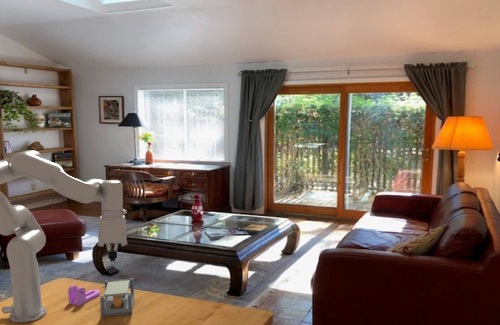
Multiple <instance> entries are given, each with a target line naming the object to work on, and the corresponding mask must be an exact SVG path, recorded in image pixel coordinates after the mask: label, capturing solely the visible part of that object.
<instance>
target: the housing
mask: <svg viewBox="0 0 500 325" xmlns="http://www.w3.org/2000/svg"><path fill="white" fill-rule="evenodd" d="M129 279H130V282H129V287H130V292H131V294H129V295H121V302H122V308H118V309H114V305H113V296H107V297H100V296H99V297H100V298H99V301H100V315H101V318H103V317H104V318H106V317H114V316H116V317H117V316H125V315H132V314H133V309H134V308H133V307H134V301H135V290H134V278H131V277H130V278H129ZM108 281H109V280H104V291H105V290H106V287H107V284H108Z"/></svg>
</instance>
